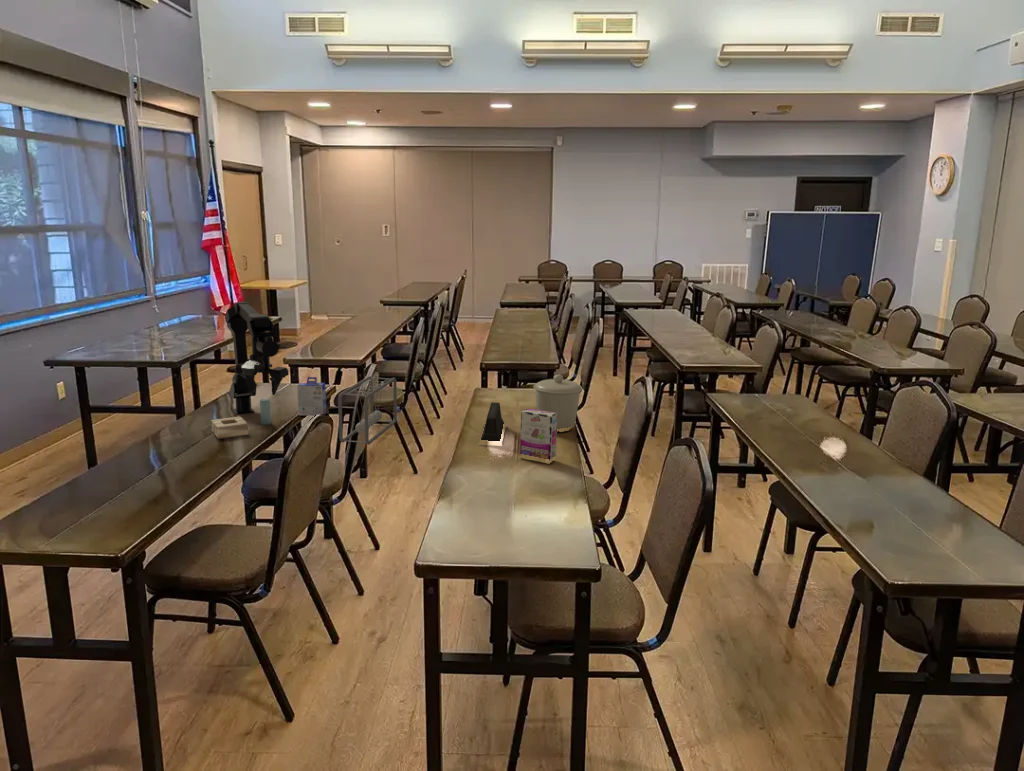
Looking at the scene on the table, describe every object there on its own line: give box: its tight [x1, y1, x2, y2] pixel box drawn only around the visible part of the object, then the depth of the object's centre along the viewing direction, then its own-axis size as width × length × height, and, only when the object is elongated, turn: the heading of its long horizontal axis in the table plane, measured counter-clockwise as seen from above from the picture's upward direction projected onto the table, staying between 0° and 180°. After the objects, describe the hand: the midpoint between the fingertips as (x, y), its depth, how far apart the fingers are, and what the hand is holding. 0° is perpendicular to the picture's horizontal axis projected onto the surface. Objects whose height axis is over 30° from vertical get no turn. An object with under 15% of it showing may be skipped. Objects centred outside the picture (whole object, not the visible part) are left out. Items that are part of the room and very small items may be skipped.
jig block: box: [210, 416, 249, 440], centre depth 252 cm, size 10×10×4 cm
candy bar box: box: [519, 408, 558, 460], centre depth 232 cm, size 11×5×16 cm, turn 62°
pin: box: [259, 398, 272, 426], centre depth 263 cm, size 4×4×9 cm
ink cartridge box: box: [297, 376, 328, 417], centre depth 276 cm, size 10×6×14 cm, turn 92°
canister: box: [533, 374, 583, 429], centre depth 265 cm, size 18×18×21 cm
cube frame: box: [337, 375, 398, 445], centre depth 256 cm, size 30×10×18 cm, turn 170°
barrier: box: [480, 401, 505, 441], centre depth 257 cm, size 24×9×10 cm, turn 177°
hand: (262, 393), depth 257 cm, fingers open, 9 cm apart
